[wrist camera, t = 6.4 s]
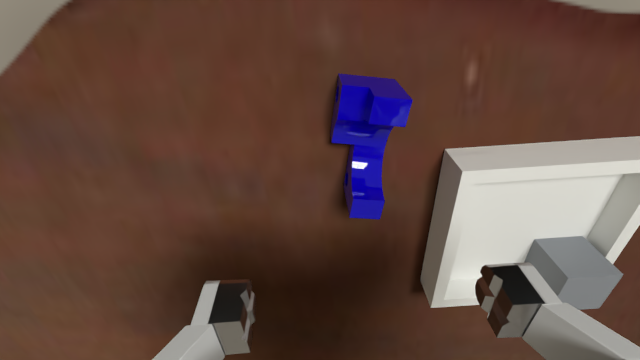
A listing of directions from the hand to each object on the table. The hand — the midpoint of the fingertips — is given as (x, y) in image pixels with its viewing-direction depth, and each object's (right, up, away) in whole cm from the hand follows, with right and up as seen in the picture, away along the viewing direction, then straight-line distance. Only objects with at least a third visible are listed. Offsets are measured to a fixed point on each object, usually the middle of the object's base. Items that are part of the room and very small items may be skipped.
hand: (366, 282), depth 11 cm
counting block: (+18, -3, +16) cm, 24 cm away
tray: (+15, 0, +15) cm, 21 cm away
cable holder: (+1, +7, +10) cm, 12 cm away
